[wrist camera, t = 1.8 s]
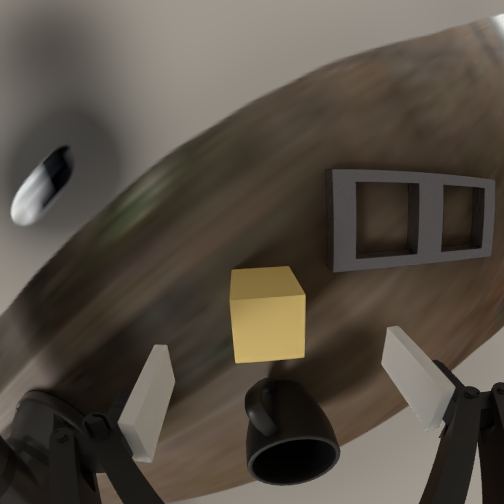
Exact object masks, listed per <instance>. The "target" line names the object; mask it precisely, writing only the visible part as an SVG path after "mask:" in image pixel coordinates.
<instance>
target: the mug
mask: <svg viewBox="0 0 504 504" xmlns="http://www.w3.org/2000/svg"><path fill="white" fill-rule="evenodd" d="M245 410H246V413H247V415H248V417H249V419H250V421H249V426H248V431H247V439H246V454H247V467H248V471H249V473H250V474H251V475H252V477H254V478H255V479H257V480H258V481H261V482H263V483H266V484H271V485H280V486H284V485H295V484H301V483H305V482H308V481H311V480H314V479H316V478H318V477H320V476H322V475H324V474H325V473H327V472H328V471H329V470H331V469H332V468H333V467H334V466H335V464H336V463H337V461H338V459H339V457H340V448H339V445H338V442H337V439H336V436H335V434H334V431H333V428H332V426H331V423H330V421H329V420H328V418H327V416H326V415H325V413H324V412H323V410H322V409H321V407H320V406H319V405H318V404H317V402H316V401H315V400H314V399H313V398H312V396H311V395H310V394H309V393H308V392H307V391H306V390H305V389H304V387H303V386H301V385H300V384H298V383H296V382H293V381H286V380H283V381H277V382H274V381H273V380H272V379H271V378H264V379H262V380H260V381H258V382H257V383H256V384H255V385H254V386H252V387H251V388H250V389H249V390H248V392H247V393H246V396H245Z"/></svg>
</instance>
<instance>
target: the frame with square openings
mask: <svg viewBox="0 0 504 504" xmlns="http://www.w3.org/2000/svg"><path fill="white" fill-rule="evenodd" d="M325 175H326V204H327V267H328V268H329V269H330V270H331V271H332V272H345V271H356V270H367V269H378V268H388V267H398V266H408V265H418V264H427V263H437V262H446V261H454V260H463V259H471V258H479V257H487V256H491V252H492V243H493V231H494V215H495V180H492V179H484V178H476V177H467V176H458V175H448V174H436V173H423V172H407V171H387V170H355V169H330V170H325ZM356 182H399V183H408V237H407V249H406V250H392V251H379V252H365V253H356ZM443 185H456V186H469V187H473V217H472V234H471V244H470V245H458V246H445V247H441V242H442V226H443Z"/></svg>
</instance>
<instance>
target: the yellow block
mask: <svg viewBox="0 0 504 504" xmlns="http://www.w3.org/2000/svg"><path fill="white" fill-rule="evenodd" d="M305 302H306V295H305V293H304V291H303V289H302V288H301V286H300V284H299V283H298V281H297V279H296V277H295V276H294V274H293V272H292V271H291V269H290V267H289V266H279V267H265V268H249V269H233V270H232V272H231V287H230V310H231V321H232V332H233V343H234V353H235V363H247V362H261V361H273V360H284V359H294V358H303V357H304V350H305Z"/></svg>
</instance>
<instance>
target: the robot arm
mask: <svg viewBox="0 0 504 504" xmlns="http://www.w3.org/2000/svg"><path fill="white" fill-rule="evenodd" d="M381 365H382V366H383V367H384V369H385V370H386V372H387V373H388V375H389V376H390V378H391V379H392V380H393V382H394V383H395V385H396V386H397V388H398V389H399V391H400V392H401V394H402V395H403V397H404V398H405V400H406V401H407V403H408V404H409V406H410V407H411V409H412V410H413V411H414V413H415V415H416V416H417V418H418V419H419V420H420V422H421V424H422V425H423V427H424V428H425V430H426V432H428V431H430V430H433V429H436V428H438V427H439V425H440V423H441V421H442V419H443V421H444V422H445V423H446V424H445V426H444V428H443V430H442V432H441V434H440V436H439V438H441V441H440V444H439V447H438V451H437V454H436V458H435V461H434V464H433V467H432V470H431V473H430V476H429V479H428V481H427V484H426V487H425V490H424V492H423V495H422V497H421V500H420V502H419V504H464V503H465V500H466V496H467V492H468V488H469V484H470V479H471V475H472V470H473V465H474V460H475V453H476V448H477V442H478V449H479V457H480V467H481V480H482V498H483V499H482V503H483V504H504V383H502V382H499V383H496V384H494V385H493V387H492V389H491V391H488V392H480V391H479V390H478V389H477V388H475V387H471V386H467V387H465V386H464V385H463V384H462V383H461V382H460V381H459V379H458V378H457V377H455V375H454V374H452V372H451V371H450V370H448V368H447V367H446V366H445V365H444V364H443V363H441V362H439V361H438V360H433V361H431V360H430V359H429V357H428V356H427V355H426V354H425V353H424V352H423V351H422V350H421V349H420V348H419V347H418V346H417V345H416V344H415V343H414V342H413V341H412V340H411V339H410V338H409V337H408V335H407V334H406V333H405V332H404V331H403V330H402V329H401V328H400V327H399V326H393V327H387V333H386V339H385V345H384V351H383V357H382V362H381ZM174 384H175V378H174V374H173V370H172V366H171V361H170V357H169V352H168V347H167V345H154V347H153V349H152V351H151V353H150V355H149V357H148V359H147V361H146V363H145V365H144V368H143V370H142V372H141V374H140V376H139V378H138V380H137V382H136V384H135V386H134V388H133V389H123V390H122V391H120V392H119V393H118V394H117V396H116V398H115V399H114V402H113V403H112V405H111V407H110V409H109V411H108V413H107V415H106V414H104V413H102V412H94V413H90V414H88V415H87V416H86V417H84V416H83V415H82V414H81V413H79V412H78V411H77V410H75V409H74V408H73V407H71V406H70V405H68V404H67V403H65V402H64V401H62V400H60V399H58V398H56V397H54V396H52V395H49V394H47V393H43V392H39V391H30V392H27V393H26V394H25V395H24V396H23V397H22V398H21V400H20V401H19V402H18V404H17V406H16V410H15V417H14V420H13V423H12V426H11V429H10V433H9V436H8V437H7V439H6V440H4V439H3V438H2V437H1V435H0V504H102V502H101V498H100V493H99V488H98V483H97V477H96V473H106V474H107V476H108V478H109V480H110V481H111V483H112V485H113V487H114V488H115V490H116V492H117V494H118V495H119V497H120V499H121V500H122V502H123V503H124V504H165V503H164V502H163V501H162V500H161V498H160V497H159V496H158V494H157V493H156V492H155V491H154V489H153V488H152V487H151V485H150V484H149V482H148V481H147V480H146V478H145V477H144V475H143V474H142V473H141V471H140V470H139V468H138V467H137V465H136V464H135V462H134V461H133V459H132V455H134V457H135V459H136V461H140V462H148V463H152V460H153V457H154V453H155V449H156V446H157V442H158V439H159V435H160V432H161V428H162V425H163V421H164V418H165V414H166V411H167V408H168V404H169V401H170V398H171V394H172V391H173V388H174Z"/></svg>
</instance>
